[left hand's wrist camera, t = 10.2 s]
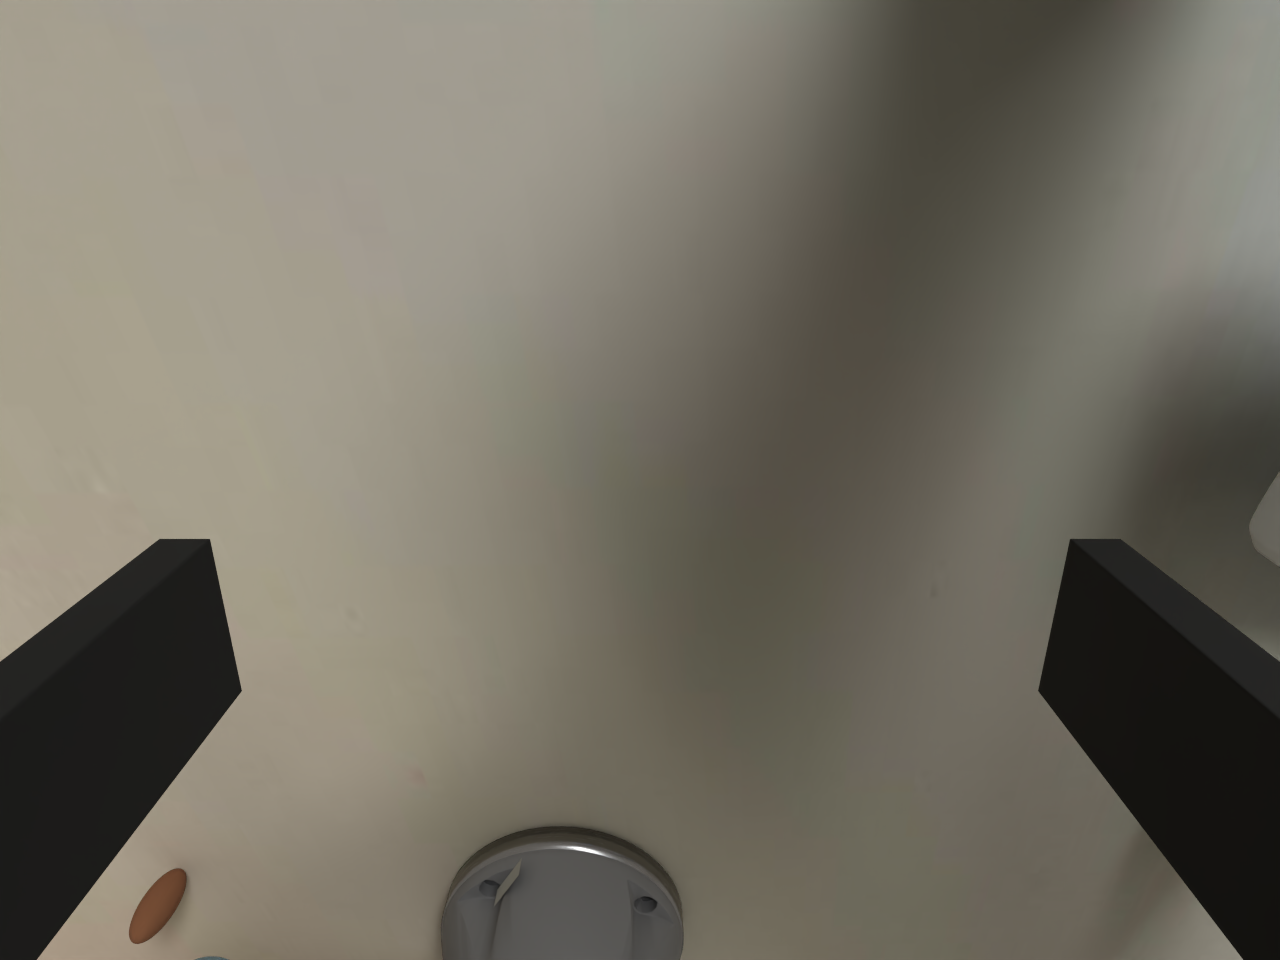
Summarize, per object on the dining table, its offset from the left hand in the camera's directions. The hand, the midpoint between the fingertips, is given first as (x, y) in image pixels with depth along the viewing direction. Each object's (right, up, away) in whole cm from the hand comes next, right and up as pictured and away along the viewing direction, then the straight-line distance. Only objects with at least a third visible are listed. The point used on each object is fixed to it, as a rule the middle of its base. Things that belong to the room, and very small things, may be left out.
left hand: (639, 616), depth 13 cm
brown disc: (-29, -23, +39) cm, 54 cm away
